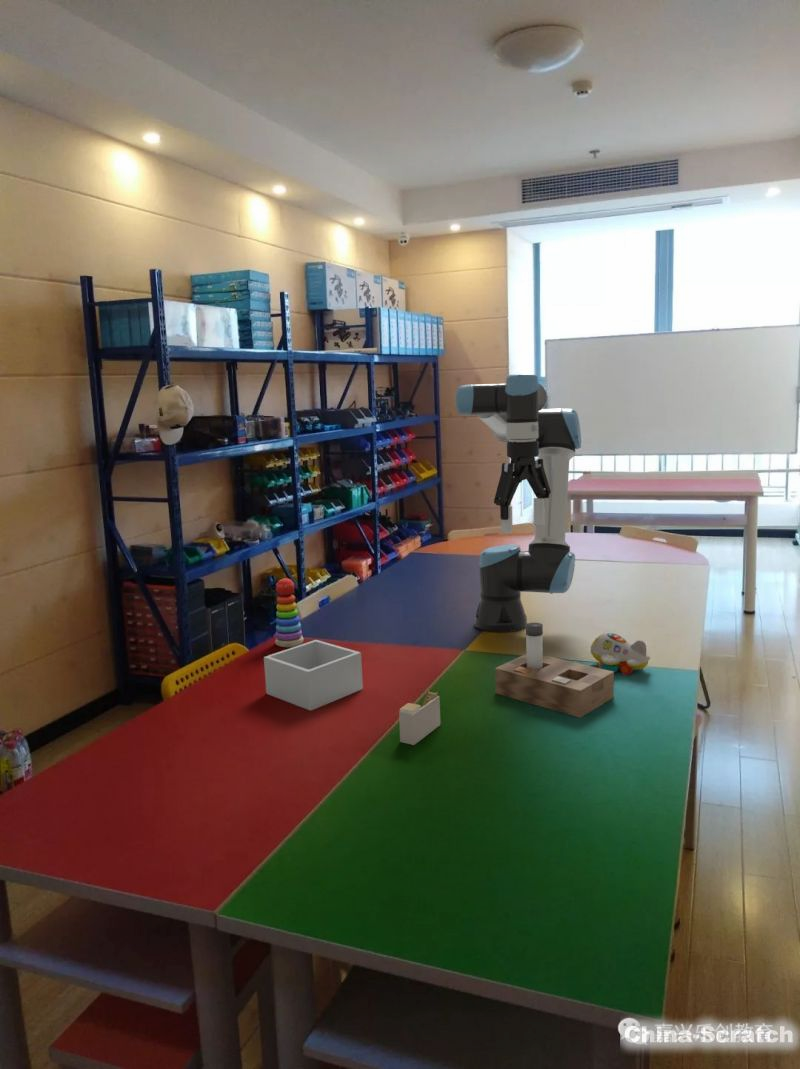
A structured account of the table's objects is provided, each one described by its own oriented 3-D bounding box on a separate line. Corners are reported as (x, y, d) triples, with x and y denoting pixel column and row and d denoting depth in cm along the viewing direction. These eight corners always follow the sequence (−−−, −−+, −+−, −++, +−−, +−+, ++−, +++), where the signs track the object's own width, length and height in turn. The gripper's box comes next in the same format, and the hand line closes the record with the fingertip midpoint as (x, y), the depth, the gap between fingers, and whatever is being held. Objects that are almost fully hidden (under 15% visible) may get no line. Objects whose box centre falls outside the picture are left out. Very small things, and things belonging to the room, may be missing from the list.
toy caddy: (266, 693, 185) (263, 657, 183) (318, 674, 196) (316, 639, 195) (310, 710, 174) (308, 671, 172) (362, 689, 185) (360, 652, 184)
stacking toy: (309, 640, 223) (305, 576, 219) (293, 649, 216) (289, 583, 212) (285, 638, 226) (281, 574, 223) (269, 646, 219) (265, 581, 216)
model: (400, 743, 157) (398, 707, 156) (427, 723, 166) (425, 689, 164) (414, 747, 155) (412, 710, 154) (440, 726, 164) (439, 691, 163)
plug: (523, 684, 180) (522, 625, 178) (532, 679, 183) (531, 621, 180) (537, 688, 178) (536, 628, 175) (546, 683, 180) (545, 624, 178)
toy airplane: (635, 649, 181) (578, 633, 191) (632, 685, 183) (576, 667, 193) (662, 636, 190) (607, 621, 201) (659, 670, 192) (604, 653, 202)
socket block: (495, 693, 180) (495, 666, 179) (530, 675, 190) (530, 650, 188) (580, 717, 165) (580, 689, 164) (613, 697, 175) (613, 670, 173)
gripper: (504, 444, 175) (505, 538, 179) (564, 436, 193) (564, 522, 197) (477, 444, 180) (479, 535, 184) (538, 436, 198) (539, 519, 202)
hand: (523, 528), depth 190 cm, fingers open, 13 cm apart
